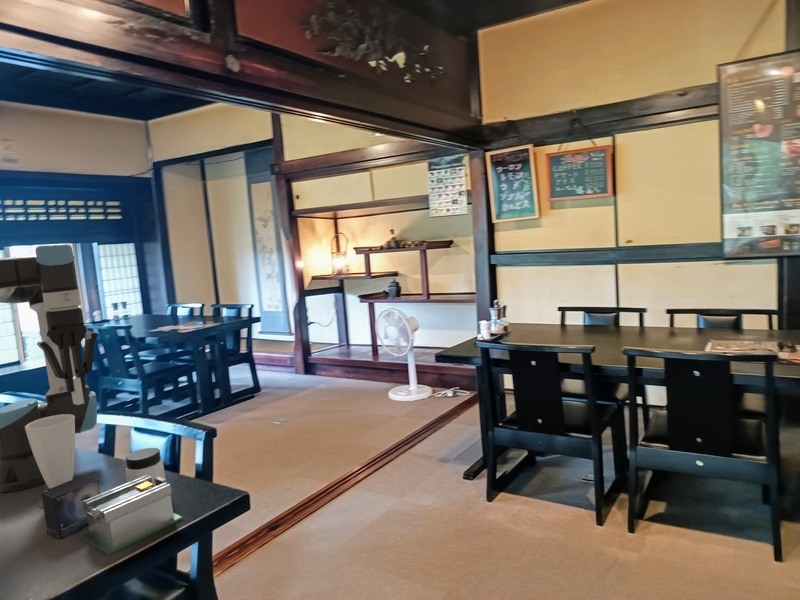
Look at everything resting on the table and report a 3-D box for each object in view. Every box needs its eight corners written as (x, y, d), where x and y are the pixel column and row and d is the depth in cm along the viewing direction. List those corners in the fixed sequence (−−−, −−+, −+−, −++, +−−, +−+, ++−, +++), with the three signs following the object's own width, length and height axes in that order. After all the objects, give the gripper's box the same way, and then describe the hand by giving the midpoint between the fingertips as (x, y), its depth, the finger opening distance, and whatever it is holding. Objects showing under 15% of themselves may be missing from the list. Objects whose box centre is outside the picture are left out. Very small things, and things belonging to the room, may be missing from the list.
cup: (93, 494, 146) (81, 418, 144) (44, 512, 138) (30, 431, 136) (79, 484, 154) (67, 411, 152) (32, 500, 146) (19, 423, 143)
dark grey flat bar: (94, 521, 117) (93, 513, 117) (86, 516, 120) (84, 508, 120) (156, 491, 128) (154, 484, 128) (146, 487, 131) (145, 480, 131)
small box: (60, 540, 123) (52, 497, 122) (46, 534, 127) (38, 492, 126) (105, 518, 132) (99, 477, 131) (91, 513, 136) (85, 473, 135)
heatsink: (81, 537, 124) (75, 501, 123) (152, 505, 137) (147, 472, 136) (109, 555, 115) (102, 517, 114) (182, 519, 128) (177, 484, 127)
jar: (132, 508, 136) (125, 463, 135) (128, 497, 143) (121, 454, 141) (170, 497, 141) (164, 453, 139) (164, 486, 148) (158, 444, 146)
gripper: (38, 313, 122) (55, 413, 125) (98, 304, 133) (112, 397, 135) (26, 312, 127) (43, 409, 130) (85, 304, 137) (99, 394, 140)
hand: (78, 403), depth 133 cm, fingers closed
